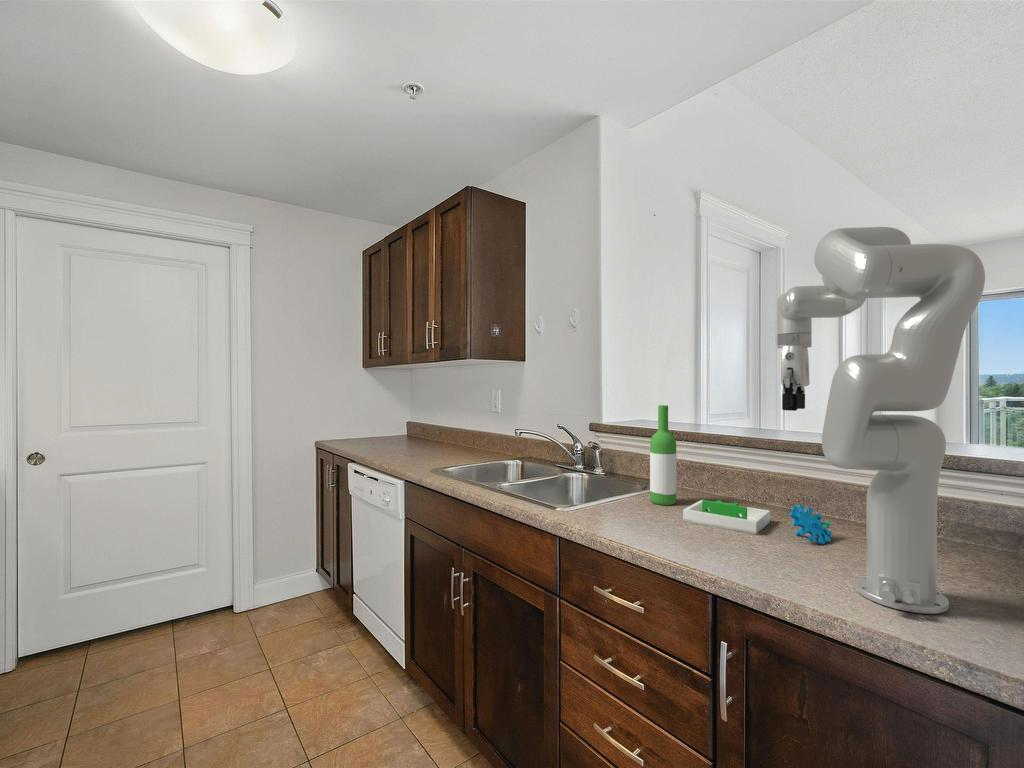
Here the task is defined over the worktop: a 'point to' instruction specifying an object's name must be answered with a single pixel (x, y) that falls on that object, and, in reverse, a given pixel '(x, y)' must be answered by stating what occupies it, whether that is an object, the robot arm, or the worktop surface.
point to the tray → (728, 519)
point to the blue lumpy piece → (810, 524)
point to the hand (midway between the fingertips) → (793, 409)
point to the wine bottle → (663, 462)
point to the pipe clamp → (724, 509)
